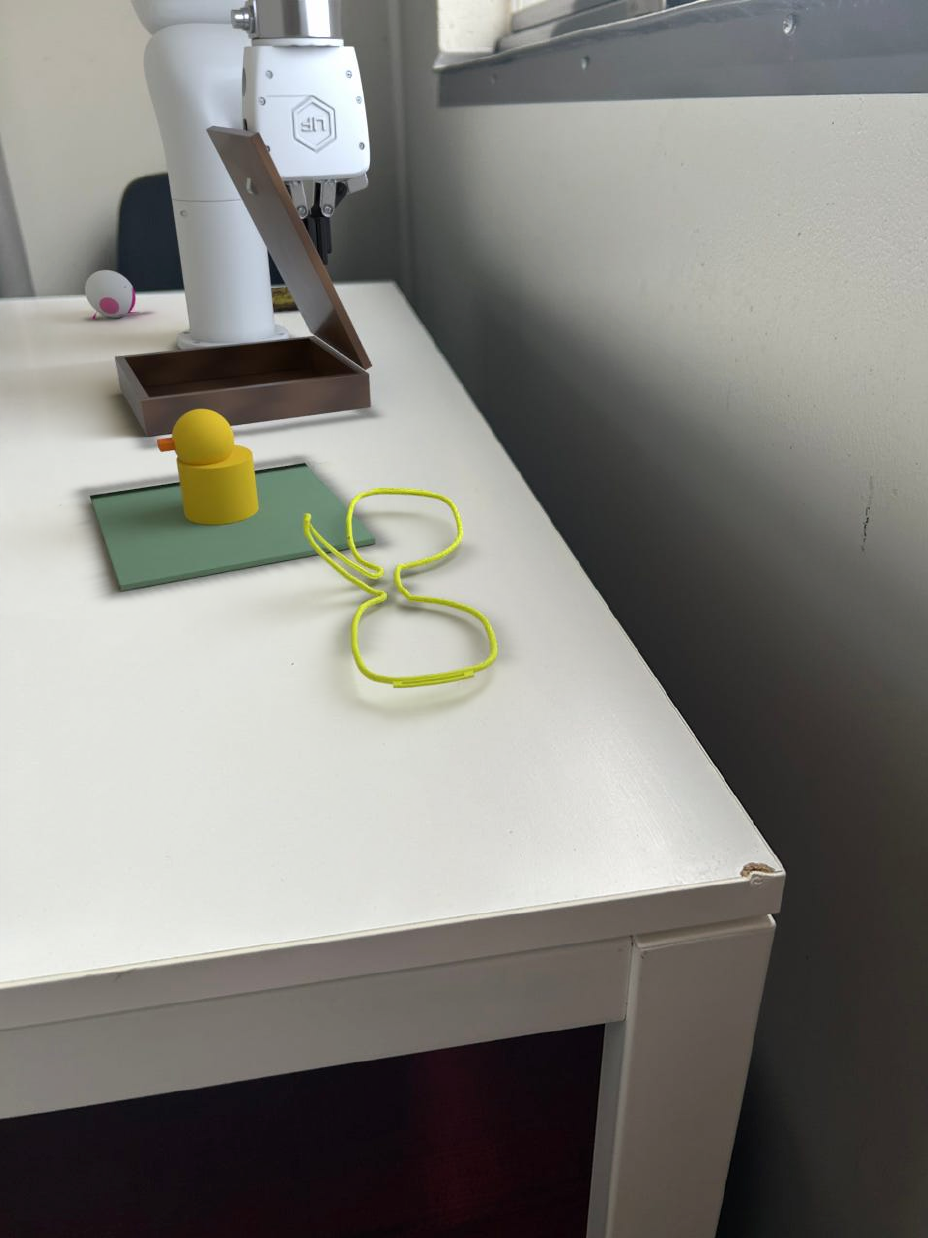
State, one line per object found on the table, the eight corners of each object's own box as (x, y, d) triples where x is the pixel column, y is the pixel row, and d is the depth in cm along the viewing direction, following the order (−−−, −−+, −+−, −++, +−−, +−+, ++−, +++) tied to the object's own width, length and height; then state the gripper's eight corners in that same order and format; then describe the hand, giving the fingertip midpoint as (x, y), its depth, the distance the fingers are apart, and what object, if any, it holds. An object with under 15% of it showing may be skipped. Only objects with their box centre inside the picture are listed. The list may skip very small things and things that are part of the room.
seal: (216, 322, 129) (331, 316, 131) (211, 285, 126) (329, 280, 128) (219, 300, 136) (328, 295, 138) (214, 265, 134) (325, 260, 136)
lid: (250, 136, 75) (259, 131, 75) (205, 129, 88) (213, 125, 88) (365, 370, 87) (372, 366, 87) (310, 332, 100) (317, 328, 100)
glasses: (509, 700, 48) (513, 614, 45) (304, 712, 47) (296, 625, 44) (452, 501, 69) (453, 435, 67) (311, 506, 68) (306, 440, 66)
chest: (148, 446, 82) (141, 401, 80) (121, 395, 95) (114, 356, 93) (371, 415, 89) (369, 373, 87) (317, 372, 102) (314, 335, 100)
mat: (87, 491, 73) (86, 486, 73) (298, 459, 78) (297, 454, 78) (121, 591, 58) (119, 585, 58) (375, 543, 64) (375, 537, 64)
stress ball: (140, 345, 127) (163, 299, 126) (81, 315, 122) (104, 266, 121) (125, 332, 133) (147, 287, 132) (68, 303, 128) (90, 256, 126)
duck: (249, 493, 71) (237, 394, 68) (266, 517, 67) (255, 414, 64) (164, 506, 69) (147, 405, 65) (177, 532, 65) (160, 426, 61)
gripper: (215, 23, 75) (242, 276, 83) (398, 25, 80) (406, 263, 89) (194, 27, 81) (222, 263, 89) (367, 30, 86) (377, 252, 95)
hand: (314, 263), depth 89 cm, fingers closed
